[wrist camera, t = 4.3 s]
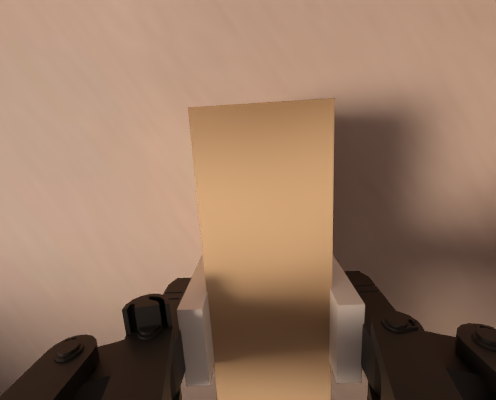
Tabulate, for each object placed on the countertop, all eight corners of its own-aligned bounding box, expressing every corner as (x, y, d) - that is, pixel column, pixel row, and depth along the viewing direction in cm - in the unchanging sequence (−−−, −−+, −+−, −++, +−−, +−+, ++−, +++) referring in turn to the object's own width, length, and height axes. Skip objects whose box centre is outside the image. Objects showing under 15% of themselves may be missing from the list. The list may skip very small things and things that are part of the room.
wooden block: (218, 120, 13) (184, 105, 7) (300, 115, 13) (338, 95, 7) (237, 360, 17) (224, 496, 10) (303, 359, 16) (332, 496, 10)
